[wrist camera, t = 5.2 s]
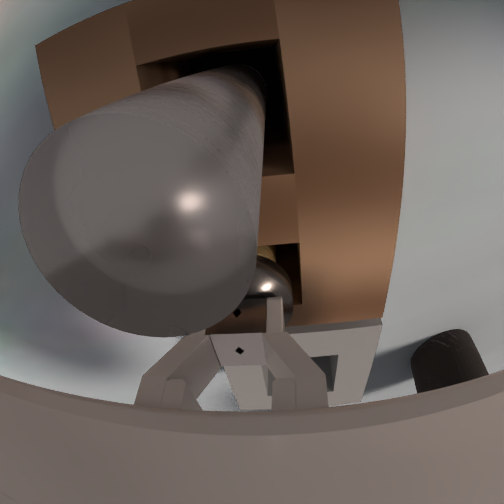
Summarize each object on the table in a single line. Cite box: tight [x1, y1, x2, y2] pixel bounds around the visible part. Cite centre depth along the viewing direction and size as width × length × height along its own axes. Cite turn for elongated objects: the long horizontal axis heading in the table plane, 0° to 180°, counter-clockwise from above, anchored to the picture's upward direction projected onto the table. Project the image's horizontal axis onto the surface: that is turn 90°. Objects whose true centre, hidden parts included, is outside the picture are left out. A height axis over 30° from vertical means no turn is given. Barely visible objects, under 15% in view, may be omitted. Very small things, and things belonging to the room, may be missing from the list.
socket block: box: [35, 0, 406, 327], centre depth 13 cm, size 14×12×7 cm
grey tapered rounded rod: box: [19, 64, 267, 337], centre depth 9 cm, size 3×3×14 cm
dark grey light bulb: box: [243, 245, 293, 326], centre depth 15 cm, size 4×4×8 cm
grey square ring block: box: [224, 318, 382, 410], centre depth 22 cm, size 10×10×5 cm
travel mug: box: [411, 329, 489, 394], centre depth 19 cm, size 8×8×20 cm
